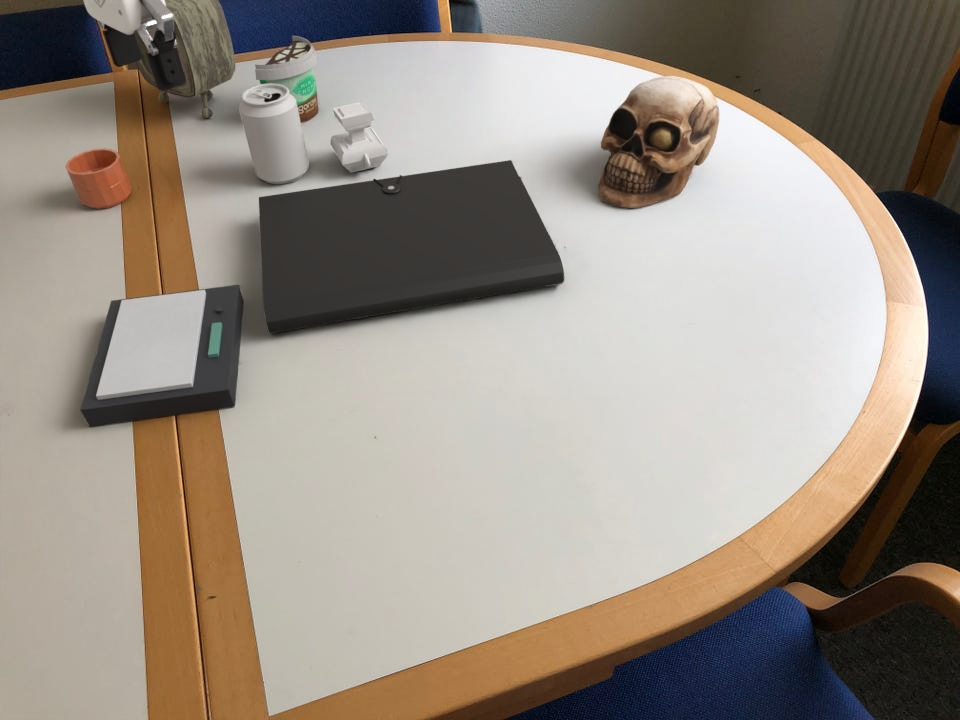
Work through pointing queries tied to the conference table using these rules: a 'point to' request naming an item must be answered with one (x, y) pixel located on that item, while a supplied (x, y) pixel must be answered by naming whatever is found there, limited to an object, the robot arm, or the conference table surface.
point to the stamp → (357, 139)
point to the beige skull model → (657, 141)
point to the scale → (166, 356)
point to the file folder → (401, 245)
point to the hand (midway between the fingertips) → (150, 74)
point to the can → (274, 133)
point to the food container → (294, 75)
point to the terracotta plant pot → (99, 178)
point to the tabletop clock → (196, 49)
